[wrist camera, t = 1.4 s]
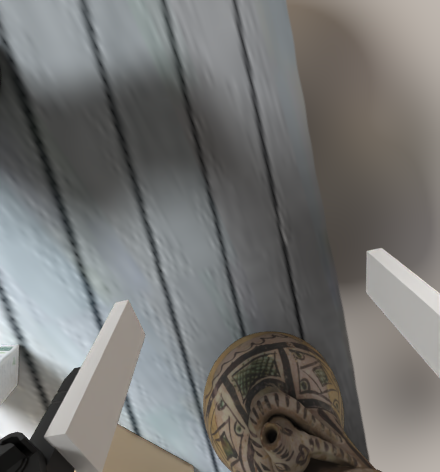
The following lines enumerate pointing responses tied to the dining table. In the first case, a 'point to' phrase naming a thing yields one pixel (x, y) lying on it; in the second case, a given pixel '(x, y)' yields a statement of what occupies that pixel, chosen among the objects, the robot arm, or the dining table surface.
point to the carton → (140, 455)
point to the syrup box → (8, 370)
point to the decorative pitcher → (277, 409)
